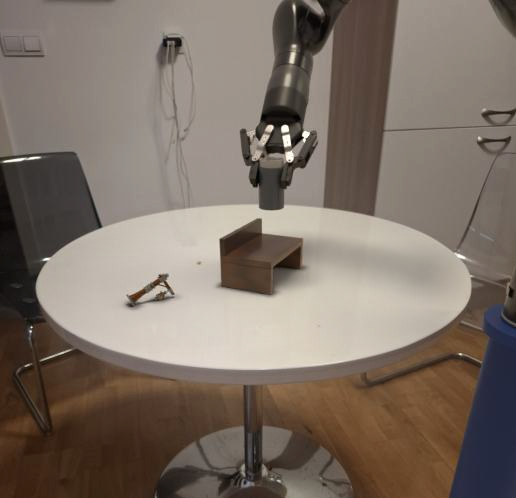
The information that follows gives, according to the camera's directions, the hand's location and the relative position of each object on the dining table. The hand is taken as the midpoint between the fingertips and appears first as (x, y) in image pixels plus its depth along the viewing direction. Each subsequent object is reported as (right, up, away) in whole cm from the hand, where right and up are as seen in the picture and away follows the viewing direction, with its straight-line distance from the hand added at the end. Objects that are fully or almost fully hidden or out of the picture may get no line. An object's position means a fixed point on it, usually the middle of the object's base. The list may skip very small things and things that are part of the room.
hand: (268, 185), depth 82 cm
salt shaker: (0, -3, +4) cm, 4 cm away
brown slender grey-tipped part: (-21, -19, +4) cm, 28 cm away
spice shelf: (-1, -13, +14) cm, 19 cm away
